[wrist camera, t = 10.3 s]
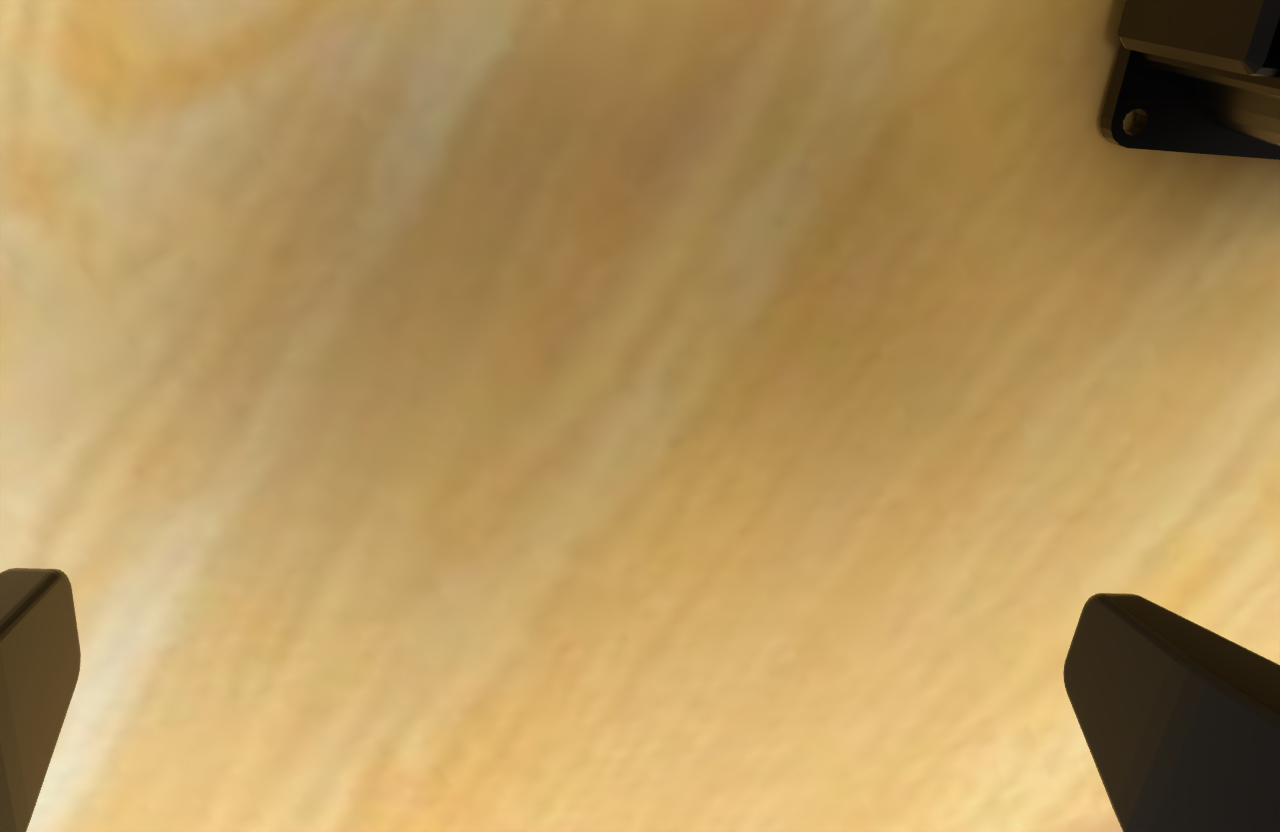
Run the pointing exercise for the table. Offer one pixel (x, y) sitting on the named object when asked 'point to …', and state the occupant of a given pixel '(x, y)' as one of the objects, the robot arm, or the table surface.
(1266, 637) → the table surface
